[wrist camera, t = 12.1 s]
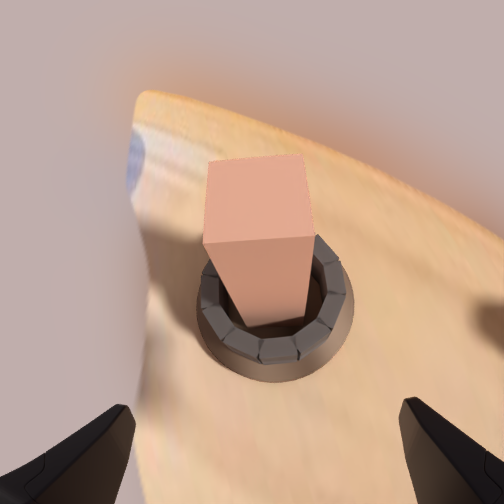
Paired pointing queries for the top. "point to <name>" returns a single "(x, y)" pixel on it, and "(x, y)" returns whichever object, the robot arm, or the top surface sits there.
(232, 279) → the terracotta peg
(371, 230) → the top surface
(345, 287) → the socket
